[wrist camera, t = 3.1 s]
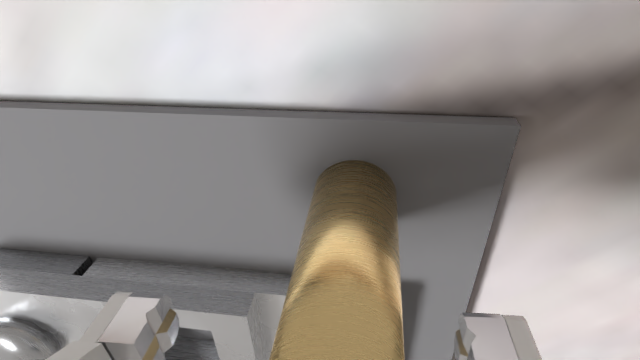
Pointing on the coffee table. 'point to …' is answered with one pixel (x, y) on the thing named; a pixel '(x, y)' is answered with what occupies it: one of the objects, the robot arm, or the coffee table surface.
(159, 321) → the robot arm
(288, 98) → the coffee table surface
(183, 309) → the slotted latch plate
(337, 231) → the brass pin
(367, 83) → the coffee table surface
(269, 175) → the gray base plate
